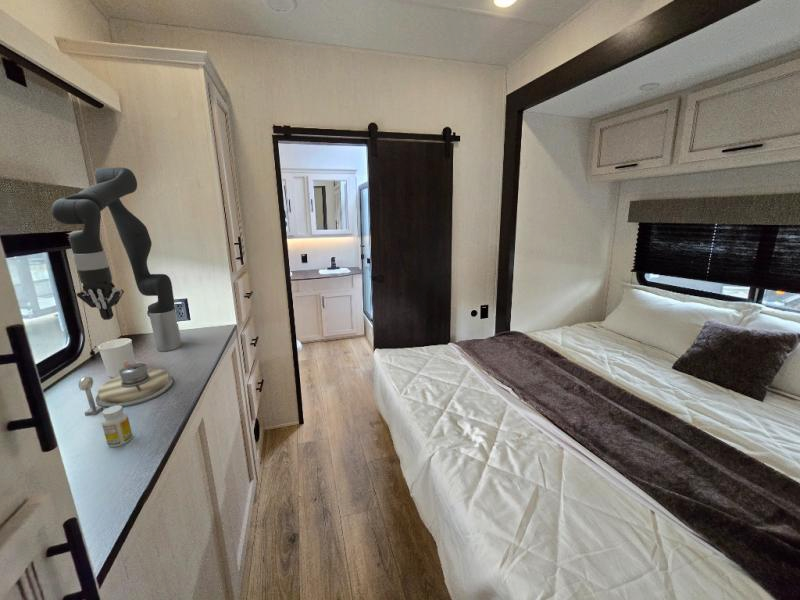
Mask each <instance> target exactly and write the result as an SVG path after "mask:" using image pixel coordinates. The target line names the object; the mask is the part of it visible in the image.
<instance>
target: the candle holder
mask: <svg viewBox="0 0 800 600" xmlns="http://www.w3.org/2000/svg"><path fill="white" fill-rule="evenodd" d="M133 347H134V346H133V340H132V339H131V338H127V337H126V338H123V337H122V338H116V339H112V340H109V341H105V342H103V343H101V344H98V346H97V349H98V351H99V354H100V357H101V359H102V362H103V366H104V368H105V371H106V374H107V375H108V378H113V379H114V378H116V377H119V376H120V373H119V371H120V370H121V369H122V368H124V367H125V366H124V362H125V361H128V362H129V363H130V365H133V364H136V361H135V352H134V348H133Z"/></svg>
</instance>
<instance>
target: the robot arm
mask: <svg viewBox="0 0 800 600" xmlns="http://www.w3.org/2000/svg"><path fill="white" fill-rule="evenodd" d="M93 175H94V181H95V183H96V184H92V185H89V186H86V187H85V188H83V189H82V190H80V191H79V192H78V193H74V194H71V195H67V196H64V197H61V198H59V199H56V200H55V201H54V202H53V203H52V205H51V208H50V212H51V215H52V217H53V218H54V220H56V221H57V222H58V223H60V224H63V225H84V226H83V229H82V230H81V231H77V232H74V233H70V234H69V235H68V240H69V244H70V248H71V250H72V253H73V261H74V265H75V267H76V271H77V274H78V278H79V280H80V283H81V284H82V290H81V291H80V292H77V293H76V297H78V298H79V299H80V300H81V301H83V303H85V304H87V305H88V306H89V307H90V308H96V309H97V310H98V311H99V315H100V317H101V318H102V320H103V321H107V320H108V321H109V320H111V319H113V318H114V312H113V308H112V307H114V306H116V305H117V304H119V301H120V300H121V298H122V296H123V295H124V293H125V291H124V289H118V288H117V287H116V286H115V284H114V283H113V276H112V273H111V268H110V266H109V261H108V258H107V255H106V254H105V252H104V247H103V244H102V240H101V219H102V214H101V212H102V211H103V210H104V209H105V208H106V207H108V210H109V212H110V214H111V216H112V219H113V222H114V224H115V226H116V230H117V232H118V235H119V238H120V240H121V243H122V245H123V248H124V249H125V252H126V254H127V257H128V260H129V262H130V266H131V268H132V269H131V270H132V272H133V273H132V274H133V276H134V280H135V284H136V287H137V289H138V291H139V293H140V294H141V295H142V296H146V297H157V301H156V302H153V303H151V304H149V305H148V306H147V312H148V316H149V319H150V325H151V329H152V334H153V339H154V342H155V346H156V347H155V348H156V351H158V352H169V351H173V350H176V349H179V348H181V346H182V338H181V333H180V328H179V324H178V321H177V315H176V312H175V311H176V310H175V306H174V305H175V298H174V291H173V283H172V279H171V277H170V276H169V275H167V274H164V273H150V270H149V268H148V258H149V255H150V252H151V250H152V249H151V248H152V244H153V243H152V240H151V236H150V234H149V231H148V228H147V226H146V225H145V224H144V222H142V220H140V219H139V218H138V217H137V216H136V215H135V214H134V213H132V212H131V211H130V210H128V208H126V206H125V205H124V204H123V203H122V201H121V198H123V197H125V196H127V195H130V194H132V193H134V192H136V190H137V189H138V180H137V178H136V175H135V173H134V172H133V171H132V170H131V169H129V168H127V167H121V166H119V167H116V166H115V167H98V168H95V170H94V174H93Z"/></svg>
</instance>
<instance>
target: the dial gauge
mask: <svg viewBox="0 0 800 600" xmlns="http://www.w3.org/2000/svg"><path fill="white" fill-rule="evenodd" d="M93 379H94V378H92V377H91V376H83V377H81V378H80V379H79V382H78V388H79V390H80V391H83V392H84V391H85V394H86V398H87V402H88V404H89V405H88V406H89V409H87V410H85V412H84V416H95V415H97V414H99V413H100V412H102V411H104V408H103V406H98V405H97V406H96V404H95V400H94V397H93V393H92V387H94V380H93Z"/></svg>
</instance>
